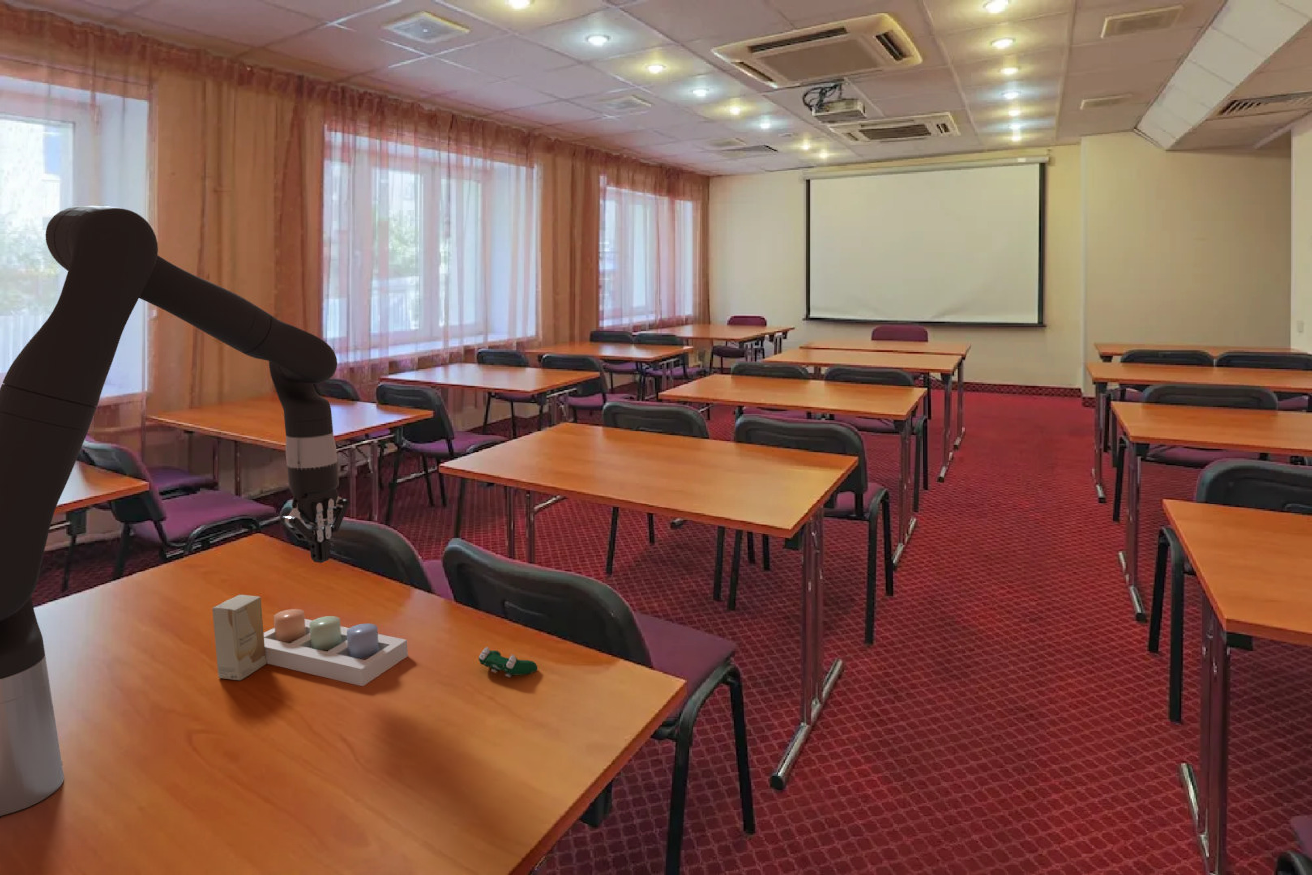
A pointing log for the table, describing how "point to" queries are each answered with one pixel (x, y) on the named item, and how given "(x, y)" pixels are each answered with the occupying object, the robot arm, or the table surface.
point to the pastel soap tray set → (334, 657)
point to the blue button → (362, 641)
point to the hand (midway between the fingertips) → (321, 560)
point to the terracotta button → (289, 625)
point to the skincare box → (239, 637)
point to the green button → (325, 633)
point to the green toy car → (506, 663)
